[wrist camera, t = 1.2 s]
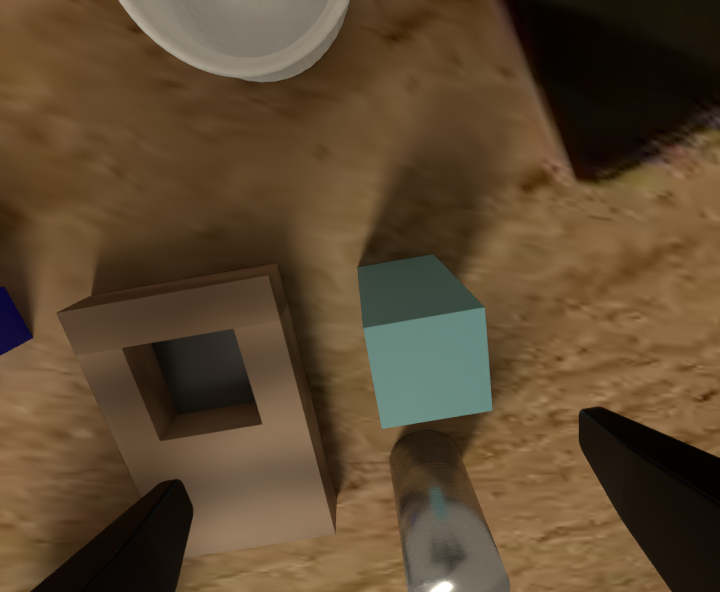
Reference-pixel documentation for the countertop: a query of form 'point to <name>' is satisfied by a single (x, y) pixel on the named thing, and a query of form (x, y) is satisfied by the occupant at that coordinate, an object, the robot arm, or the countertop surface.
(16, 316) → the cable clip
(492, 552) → the round peg
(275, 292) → the socket board
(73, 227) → the countertop surface
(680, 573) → the robot arm
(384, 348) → the square peg
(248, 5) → the ramekin
